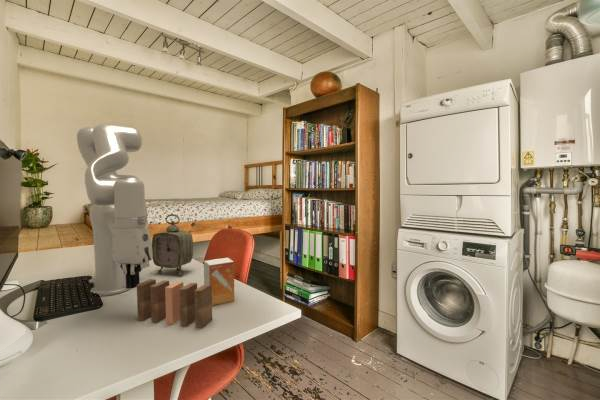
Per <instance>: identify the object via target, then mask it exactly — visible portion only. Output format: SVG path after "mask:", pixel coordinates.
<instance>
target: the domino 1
mask: <svg viewBox="0 0 600 400" xmlns="http://www.w3.org/2000/svg"><path fill="white" fill-rule="evenodd" d="M156 283H157V279H153V278H149V279H147V280H145V281H143V282H140V284H137V287H136V304H137V306H136V307H137V321H140V322H145V321H146V320H148V319H150V318H152V317H151V287H150V286H152V285H154V284H156Z"/></svg>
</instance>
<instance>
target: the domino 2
mask: <svg viewBox="0 0 600 400" xmlns="http://www.w3.org/2000/svg"><path fill="white" fill-rule="evenodd" d="M169 285H170V280H165V279H163V280H160V281H159V282H156V284H154V285H152V286H150V287H151V317H150V318H151V323H156V324H159V323H160V322H161V321H163V320H164V319H165V320H166V301H165V287H167V286H169Z"/></svg>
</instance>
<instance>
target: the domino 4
mask: <svg viewBox="0 0 600 400" xmlns="http://www.w3.org/2000/svg"><path fill="white" fill-rule="evenodd" d="M196 289H198V283H197V282H189V283H187V284H186V285H183V287H182V288H180V320H179V321H180V324H179V325H180V326H181V327H189V326H190V325H191V324H193V323H195V290H196Z"/></svg>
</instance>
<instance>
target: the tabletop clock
mask: <svg viewBox="0 0 600 400" xmlns="http://www.w3.org/2000/svg"><path fill="white" fill-rule="evenodd" d="M169 217H176V218H177V220H178V221H176V222H175V221H174V220H171V221H168V218H169ZM165 222H166V223H167V224H169V225H168V226H167V227H166V230H165V231H163V232H157V233H155V234H153V236H152V237H151V242H152V252H153V258H152V262H153V265H155V266H156V267H159V268H160V269H158V270H157V274H161V273H162V270H163V268H166V269H175V271H176V272H178V276H179V277H182V276H183V274H184V273H183V272H182V266H185V265H187V264H189V263H191V262H192V260H193V257H194V240H193V235H192V233H191V232H189V231H186V230H180V228H179V227H180V226H178V224H179V223H180V222H181V221H180V216H179V215H178V214H172V213H171V214H168V215H166V216H165Z"/></svg>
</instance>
